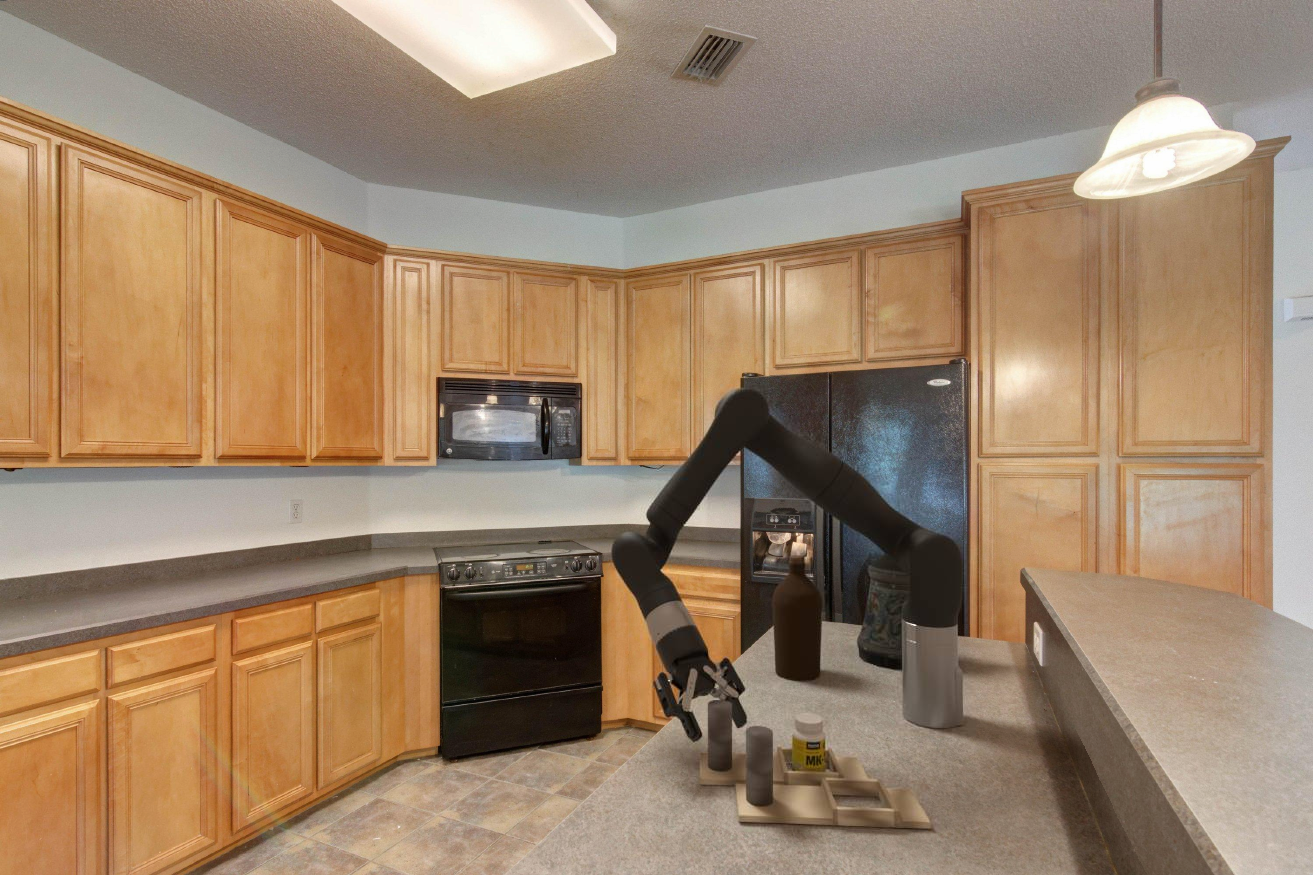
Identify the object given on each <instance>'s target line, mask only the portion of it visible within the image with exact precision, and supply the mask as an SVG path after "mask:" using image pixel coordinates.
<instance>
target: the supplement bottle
mask: <svg viewBox="0 0 1313 875" xmlns="http://www.w3.org/2000/svg"><path fill="white" fill-rule="evenodd" d="M823 719H824V718H822V716H820V715H818V714H815V713H812V712H802V713H801V712H800V713H797V714H796V715H795V716H794V728H793V730H792V733H791V734H792V736H791V739H792V740H791V741H792V742H791V743H792V744H791V747H792V762H791V764H792V766H791V768H792V769H791V771H810V772H826V763H825V748H826V733H825V731H823V730H824V729H823V728H824V725H823V724H824V723H823Z"/></svg>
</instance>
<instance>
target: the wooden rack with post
mask: <svg viewBox="0 0 1313 875" xmlns="http://www.w3.org/2000/svg"><path fill="white" fill-rule="evenodd" d="M776 752H777V754H773V785H802V786H821V777H823V778H854V779H869V777H868V775H867V773H866V771H865V769H864V766H863V765H862V763H861V761H860V759H859V758H858V756H857V757H855V756H835V753H834V751H833V749H832V748H831V747H830V748H826V747H825V764H827V765H828V766H829V769H830V770H831V771H825V772H810V771H792V770H788V766H787V763H792V746H791V747H789V746H777V749H776ZM735 783H742V784H746V753H733V719H732V704H731V703H730V702H728V701H725V700H720V699H714V700H710V701H708V703H707V752H699V785H710V786H711V785H714V786H715V785H716V786H735Z"/></svg>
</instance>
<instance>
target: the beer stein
mask: <svg viewBox="0 0 1313 875" xmlns="http://www.w3.org/2000/svg"><path fill="white" fill-rule="evenodd" d="M867 571H868V575H869V577H870V584H869V589H868V596H867V601H866V609H865V614H864V619H863V623H862V626H861V630H860V631H859V634H858V636H857V639H856V644H857V650H858V657H859V658H860V659H861V661H863V663H867V664H870V665H872V664H873V665H872V666H875V665H876V667H879V668H883V669H889V668H890V670H895V671H902V605H903V603H904V602H905V601H907V599H908V596H909V575H908V574H906V573H905V572H904V571H903V570H902V569H901V568H900V567H899V566H898V565H897V564H896V563H895V562H894V561H893V560H892V559H891V558H890V557H889V556H888V555H886V554H885V553H884V554H883V555H881V556H880V557H878V558H877V559H876V560H874V561H872V562H871V563H870V565H869V566H868V568H867Z"/></svg>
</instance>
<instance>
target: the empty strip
mask: <svg viewBox="0 0 1313 875" xmlns="http://www.w3.org/2000/svg"><path fill="white" fill-rule="evenodd" d="M773 742H774V732H773V730H772V729H771V728H769V727H767V726H762V725H753V726H749V727H747V728H746V729H745V754H746V784H742V783H735V785H734V786H735V788H734V789H735V796H736V807H737V816H738V817H737V818H738V822H743V823H746V822H747V823H770V824H771V823H772V824H792V825H793V824H795V825H796V824H798V825H799V824H800V825H821V826H822V825H823V826H826V825H827V826H848V827H849V826H850V827H851V826H852V827H855V826H856V827H875V828H877V827H879V828H880V827H881V828H900V829H901V828H906V829H907V828H908V829H910V828H911V829H931V828H932V826H931V825H932V822H931V820H930V819H929V817H928V815H927V814H926V812H925V811H924V809H923V808H922V806H921V804H920V802H919V801H918V800H917V797H916V795H914V793H913V791H912V790H911V789H910V788H893V787H892V788H889V787H886V785H885V783H884V782H883V780H882V779H881V778H879V779H877V778H876V779H875V778H868V779H854V778H823V777H821V786H802V785H773V755H774V743H773ZM833 795H834V796H837V795H839V796H860V797H861V796H862V797H863V796H868V797H878V799H879V800H880V801H879V802H881V805H882V806H883V807H862V806H861V807H857V806H856V807H853V806H837V804H836V801H835V798H834V796H833Z"/></svg>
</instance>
